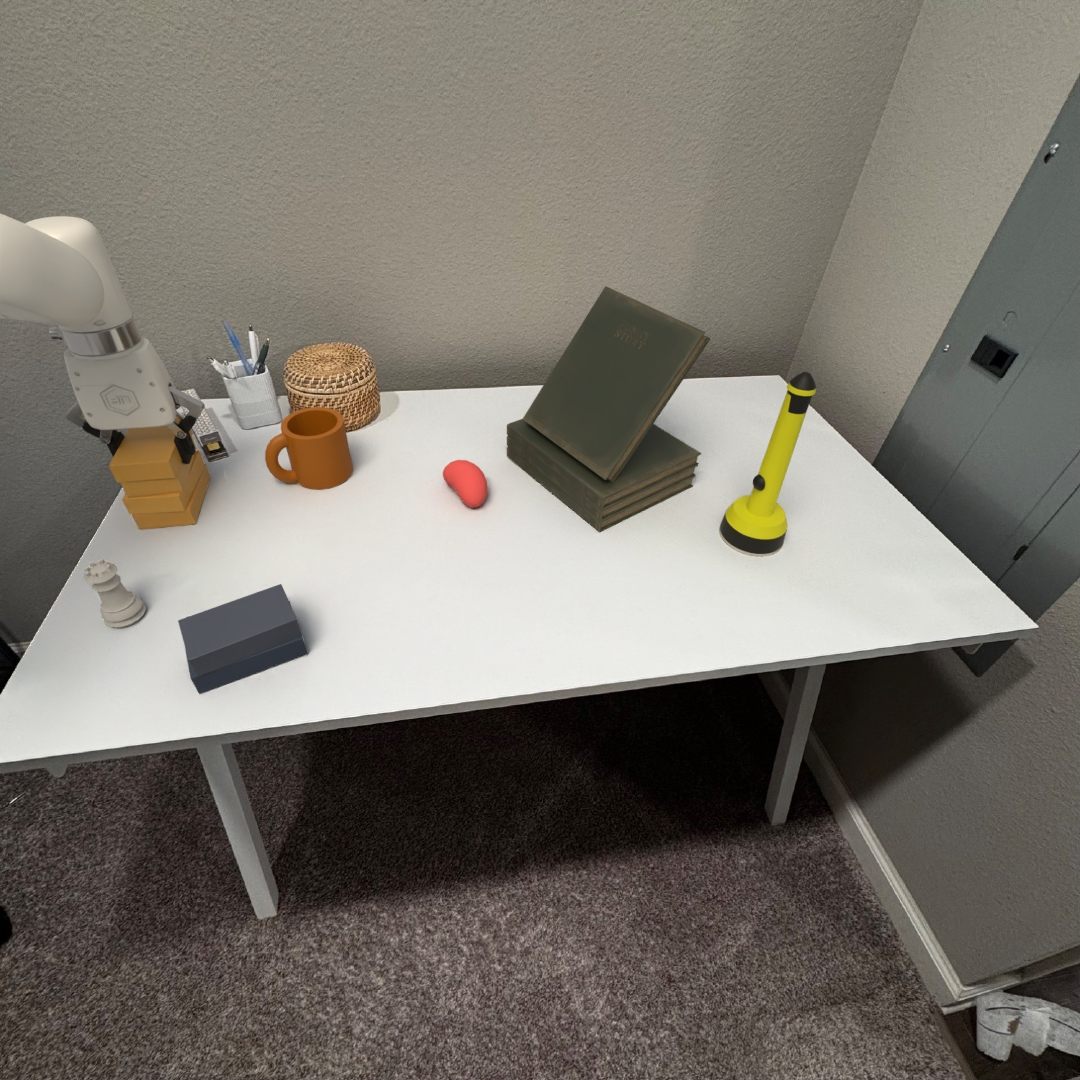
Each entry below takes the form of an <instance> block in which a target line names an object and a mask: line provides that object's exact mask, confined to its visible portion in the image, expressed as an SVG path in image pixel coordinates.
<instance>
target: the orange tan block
mask: <svg viewBox="0 0 1080 1080" xmlns="http://www.w3.org/2000/svg"><path fill="white" fill-rule="evenodd" d="M189 433H190V436H191V437H193V434H194V433H193V430H192V429H191V430H190V431H189ZM124 436H125V437H124V439H123V441H122V443H121V444H120V446H119V448H118V450H117V451H116V453H115V455H114V457H113V456H112V459H111V461H110V462H109V465H108V468H109V469H110V472H111V475H112V476H113V478H114V479H115V481H116V483H117V484H118V483H120V482H130V481H142V480H155V479H167V478H176V475H177V473H178V470H179V467H180V465H181V462H182V459H181V457H180V454H179V452H178V449H177V447H176V445H175V443H174V438H175V434H173V433H172V432H171V431H170V430H169V429H168V428H167V427H166V426H161V427H150V428H136V429H127V431H126V432H125V434H124Z"/></svg>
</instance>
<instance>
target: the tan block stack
mask: <svg viewBox="0 0 1080 1080" xmlns="http://www.w3.org/2000/svg"><path fill="white" fill-rule="evenodd" d="M191 438H192V441H193V443H194V446H195V454H194V455H193V456H192V458H191V461H190V463H189V464H184V463H183V462H181V465H180V467H179V470H178V473H177V475H176V478H167V479H155V480H142V481H130V482H119V484H120V485H121V487H122V489H123V490H124V493H125V494H124V495H123V496H122V499H121V501H122V503H123V504H124V506H125V508H126V510H127V513H128V515H131V517H132V519H133V520H134V522H135V523H136V526H137V528H138V530H148V529H160V528H169V527H182V526H191V525H196V524H197V522H198V518H199V516H200V512H201V509H202V506H203V503H204V500H205V498H206V497H205V496H206V494H207V491H208V487H209V484H210V481H211V478H212V477H211V474H210V472H209V469H208V466H207V464H206V463H205V461H204V459H203V456H202V453H201V451H200V450H197V445H196V442H195V440H194V438H193V436H192V437H191Z"/></svg>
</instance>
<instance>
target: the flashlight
mask: <svg viewBox="0 0 1080 1080" xmlns="http://www.w3.org/2000/svg"><path fill="white" fill-rule="evenodd" d="M816 384H817V383H816V381H815V379H814V376H813V375H812V374H811V373H810V372H808V371H802V372H800V373H798V374H797V375H795V376H794V377H792V378H791V379H790V380H789V381H788V383H787V385H786V389H787V390H786V393H785V395H784V399H783V402H782V405H781V408H780V410H779V413H778V416H777V418H776V422H775V425H774V427H773V430H772V432H771V436H770V439H769V442H768V444H767V448H766V450H765V452H764V455H763V459H762V462H761V464H760V467H759V470H758V472H757V474H756V475H755V476H754V477H753V479H752V486H753V487H752V490H751V493H750V494H747V495H742V496H740V497H738V498H737V499H736V500H734V501H733V502H732V503H731V504H730V505H729V506H728V507H727V508H726V510H725V512H724V515H723V517H722V520H721V522H720V525H719V528H718V533H719V536H720V538H721V539H722V541H723V542H724V543H725V544H726V545H727V546H728V547H730V549H732V550H735V551H737V552H739V553H741V554H744V555H747V556H752V557H769V556H771V555H774V554H777V553H778V552H779V551H780V550H781V549H782V547H783V546H784V542H785V539H786V535H787V531H788V525H789V524H788V520H787V516H786V511H785V509H784V507H782V505H780V503H778V499H779V496H780V493H781V490H782V487H783V484H784V480H785V478H786V475H787V472H788V468H789V466H790V463H791V459H792V457H793V454H794V451H795V448H796V444H797V441H798V439H799V436H800V432H801V430H802V427H803V424H804V421H805V417H806V415H807V411H808V410H809V409H808V408H809V406H810V403H811V400H812V398H813V396H814V395H815V394H816V392H817V391H816V390H817V385H816Z"/></svg>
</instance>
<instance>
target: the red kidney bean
mask: <svg viewBox="0 0 1080 1080" xmlns="http://www.w3.org/2000/svg"><path fill="white" fill-rule="evenodd" d="M442 478H443V480H444V482H445V483H446V484H447V485H448V486H449V487H451V488H452V489H453V490H454V491H455V492H456V494H457V495H458V497H459V498H460V500H461V501H462V502H463V504H464V505H466V506H467V507H468V508H478V507H481V506H482V505H483V503H484V502H485V501H486V498H487V496H488V488H489V487H488V481H487V478H486V476H485V473H484V472H483V470H482V469H481V468H480V467H479V466H478V465H477V464H476V463H473V462H472V461H469V460H467V459H457V460H453V461H451V462H449V463H448V464H446V466H445V467H444V468H443V471H442Z"/></svg>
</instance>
